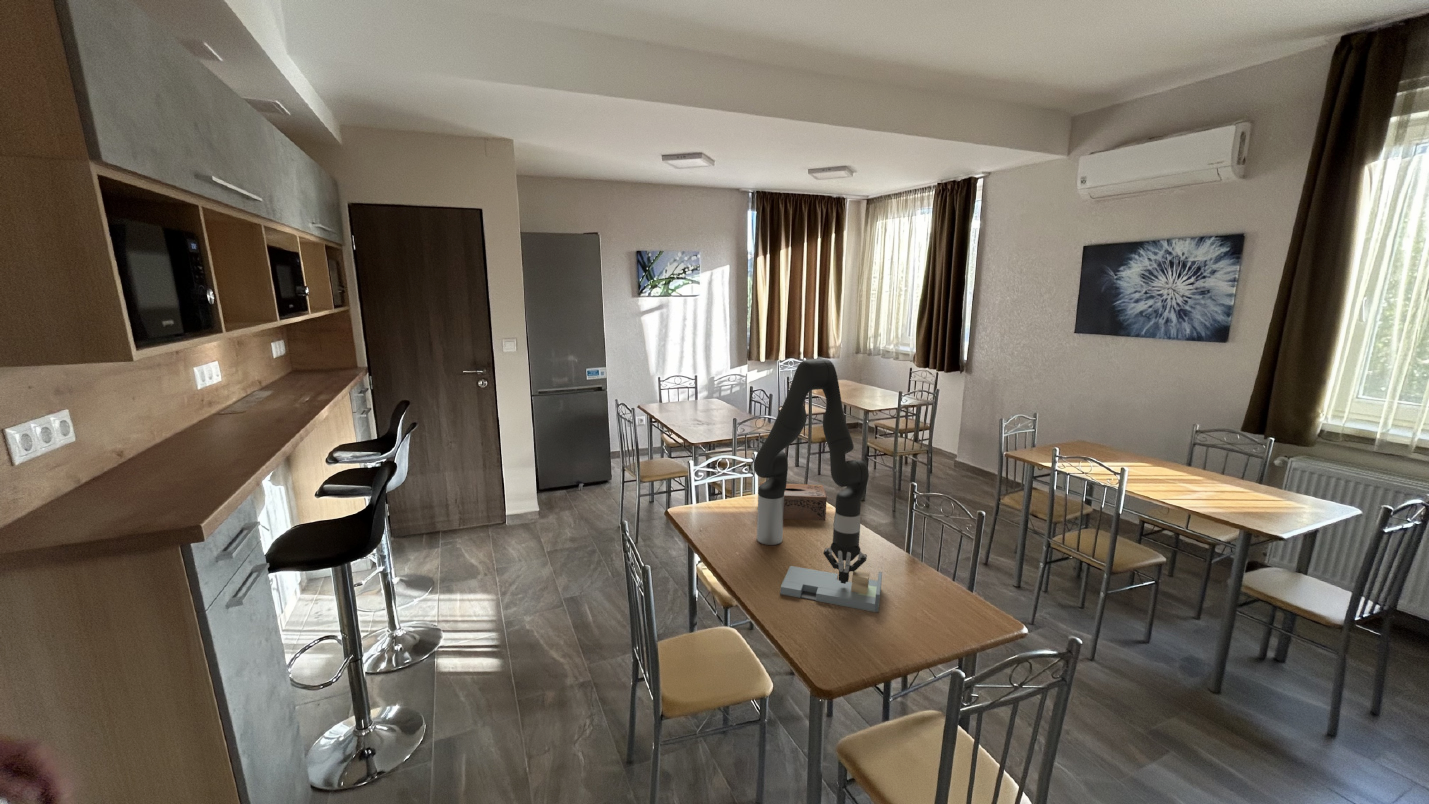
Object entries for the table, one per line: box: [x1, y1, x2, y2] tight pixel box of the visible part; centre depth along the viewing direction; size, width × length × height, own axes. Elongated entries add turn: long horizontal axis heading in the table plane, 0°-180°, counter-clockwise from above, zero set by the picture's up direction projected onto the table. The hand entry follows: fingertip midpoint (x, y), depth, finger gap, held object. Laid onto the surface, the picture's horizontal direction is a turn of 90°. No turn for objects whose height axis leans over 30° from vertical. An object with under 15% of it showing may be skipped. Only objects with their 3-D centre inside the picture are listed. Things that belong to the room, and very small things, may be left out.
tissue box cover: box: [759, 482, 828, 522], centre depth 229 cm, size 26×14×10 cm, turn 86°
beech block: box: [851, 568, 871, 594], centre depth 165 cm, size 4×4×5 cm
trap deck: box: [779, 565, 883, 613], centre depth 169 cm, size 14×28×5 cm, turn 71°
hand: (843, 582), depth 167 cm, fingers closed
